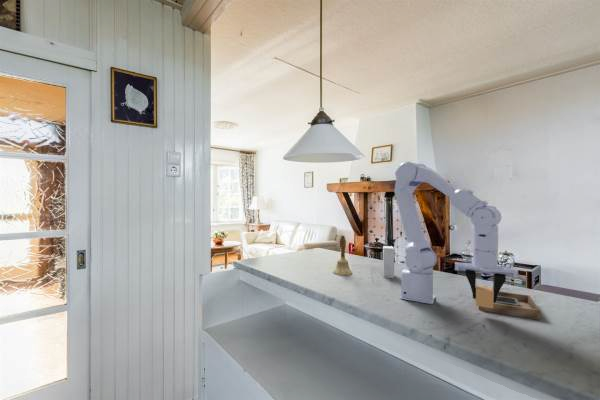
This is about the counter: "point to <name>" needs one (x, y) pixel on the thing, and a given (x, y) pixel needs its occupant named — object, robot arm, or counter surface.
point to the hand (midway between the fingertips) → (484, 299)
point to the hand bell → (342, 260)
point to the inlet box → (514, 305)
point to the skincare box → (388, 261)
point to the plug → (484, 296)
